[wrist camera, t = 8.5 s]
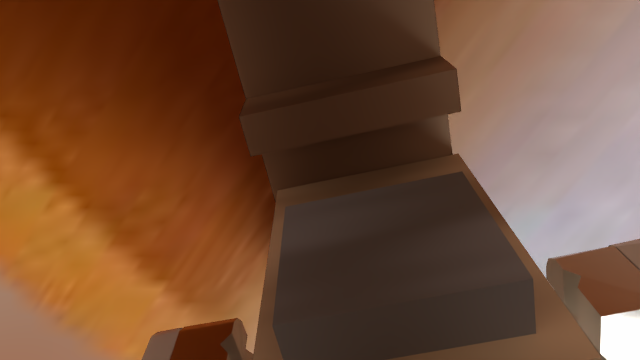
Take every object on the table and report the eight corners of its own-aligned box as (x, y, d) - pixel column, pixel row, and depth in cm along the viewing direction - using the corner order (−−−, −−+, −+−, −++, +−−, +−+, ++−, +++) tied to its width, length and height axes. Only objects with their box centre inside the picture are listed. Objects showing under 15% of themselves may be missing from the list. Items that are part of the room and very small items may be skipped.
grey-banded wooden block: (454, 118, 11) (602, 297, 5) (471, 267, 12) (599, 526, 7) (268, 157, 11) (224, 365, 6) (308, 298, 13) (303, 569, 7)
